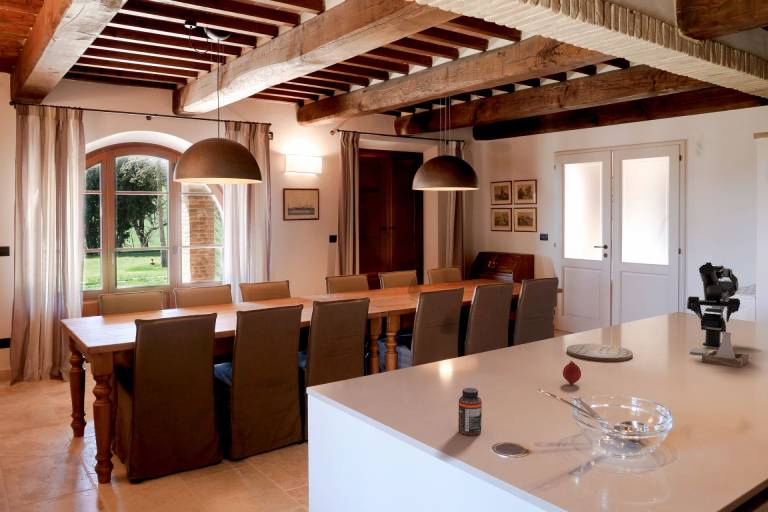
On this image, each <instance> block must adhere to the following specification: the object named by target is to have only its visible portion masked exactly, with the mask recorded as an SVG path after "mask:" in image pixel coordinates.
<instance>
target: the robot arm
mask: <svg viewBox="0 0 768 512" xmlns="http://www.w3.org/2000/svg"><path fill="white" fill-rule="evenodd" d="M698 271H699V276H700V279H701V281H702V285H703V297H704V298H703V299H700V297H699V296H691V295H690V296H688V297H687V301H686V309H687V310H690V311H691V312H693V313H694V314H695V315H696V316H698V318H699V320H700V329H701V331H705V339H704V340H705V341H704V342H703V343H702V345H705V346H711V347H712V346H713V347H718V348H720V345H721V343H722V342H721V340H722V339H721V338H722V337H721V335H722V332H727V325H726V324H727V323H729V322H730V321H729V320H730V318H731V315H732V314H734V313H736V312H738V311H739V309H740V306H741V300H740V299H739V298H737V297H734V298H733V296H735V294H737V292H739V279H738V277H737V276H735V274H734V273H733V269H732V268H729V267H728V268H727V267H726V268H725V266H724V265H723V264H722V265H721V264H713V263H712V262H710V261H709V262H705V263H704V264H702V265H701V266H700V267H698ZM724 278H728V279H724ZM701 306H705V307H706V308H705V309H704V312H703V313H702V308H701ZM710 307H711V308H710ZM725 308H726V315H725V316H726V321H725V318H724V311H725ZM726 322H727V323H726Z"/></svg>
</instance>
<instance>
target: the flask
mask: <svg viewBox="0 0 768 512" xmlns="http://www.w3.org/2000/svg"><path fill="white" fill-rule="evenodd" d="M721 335H722V339H721V342H720V343H721V345H720V346H719V347H718V352H717V354H716V357H723V358H730V359H736V357H735V354H734V353H735V352H734V349H733V346H732V339H731V336H732V332H727V331H726V332H721Z"/></svg>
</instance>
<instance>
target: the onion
mask: <svg viewBox="0 0 768 512" xmlns="http://www.w3.org/2000/svg"><path fill="white" fill-rule="evenodd" d="M562 377H563V379H565V380H566V381H567V383H569V385H574V384H575V383H577V382H579V380H580V379H581V377H582V370H581V368H580V367H579V366H578V364H576V363H575V362H574V361H573V359H571V360H570V359H569V363H567V364H565V366H564V367H563V370H562Z"/></svg>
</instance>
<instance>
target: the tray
mask: <svg viewBox="0 0 768 512" xmlns="http://www.w3.org/2000/svg"><path fill="white" fill-rule="evenodd" d="M718 350H719V349H718ZM718 350H717V349H711V350H709V351H708V352H706V353H705V354H703V355H701V362H702V363H708V364H713V365H721V366H728V367H733V368H734V367H735V368H742V367H743V366H745V364H746V363H748V362H749V354H746V353H740V352H734V354H735V357H736V359H730V358H723V357H716V354H717V352H718Z"/></svg>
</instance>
